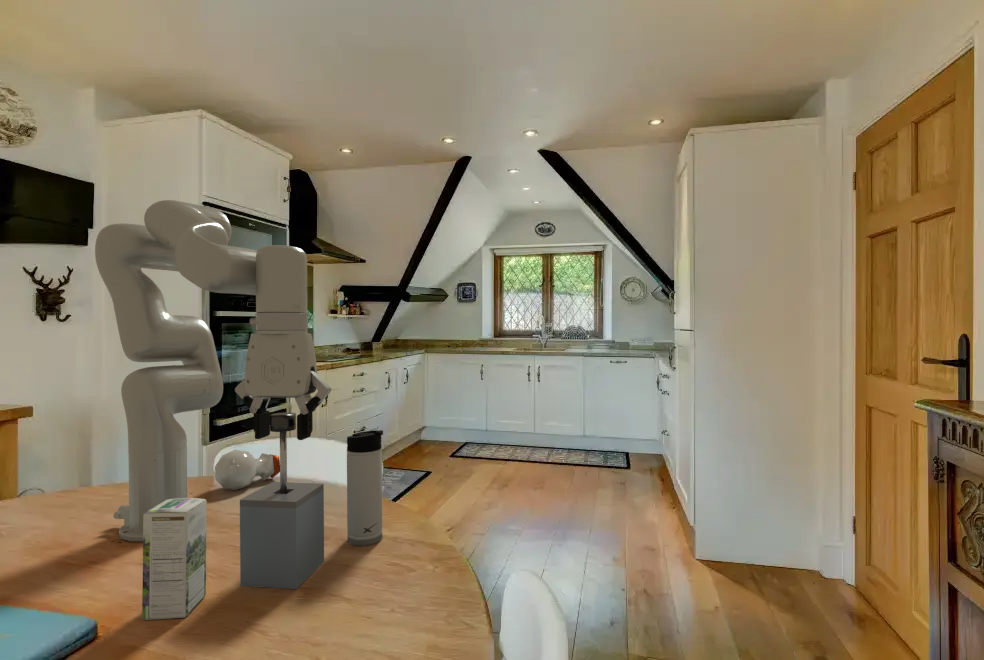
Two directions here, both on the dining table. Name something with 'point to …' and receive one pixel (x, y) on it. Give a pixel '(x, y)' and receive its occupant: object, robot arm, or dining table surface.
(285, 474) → the plunger
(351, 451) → the travel mug
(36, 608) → the dining table surface
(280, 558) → the grey box with hole
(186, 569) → the syrup box
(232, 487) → the potion bottle
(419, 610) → the dining table surface
